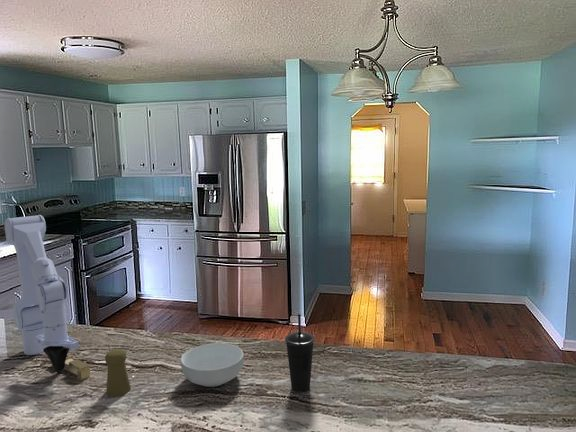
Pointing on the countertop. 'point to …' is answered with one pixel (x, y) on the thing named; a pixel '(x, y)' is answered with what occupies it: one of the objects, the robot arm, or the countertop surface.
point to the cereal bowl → (212, 364)
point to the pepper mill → (117, 373)
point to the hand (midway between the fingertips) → (59, 369)
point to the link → (67, 366)
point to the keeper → (81, 369)
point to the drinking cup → (300, 358)
